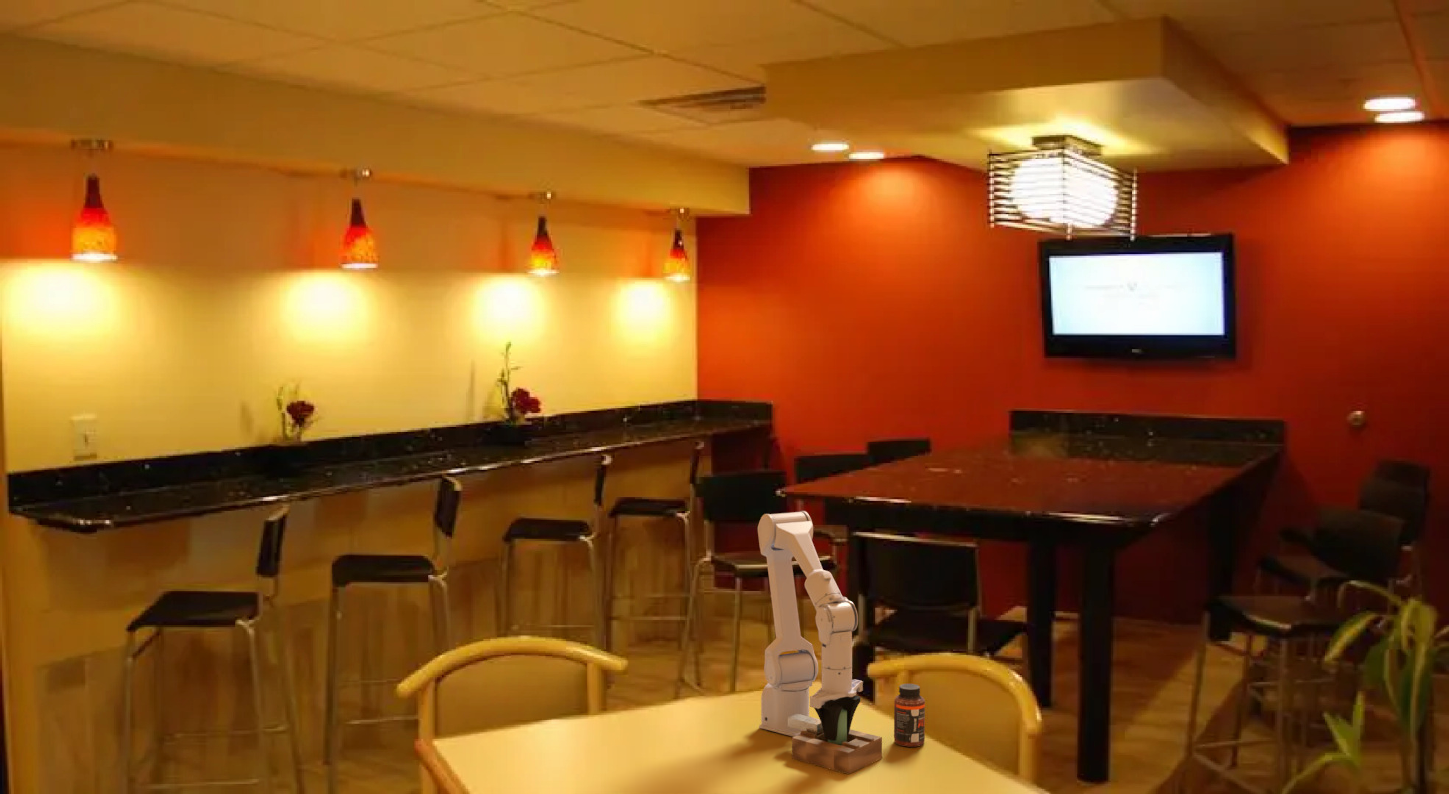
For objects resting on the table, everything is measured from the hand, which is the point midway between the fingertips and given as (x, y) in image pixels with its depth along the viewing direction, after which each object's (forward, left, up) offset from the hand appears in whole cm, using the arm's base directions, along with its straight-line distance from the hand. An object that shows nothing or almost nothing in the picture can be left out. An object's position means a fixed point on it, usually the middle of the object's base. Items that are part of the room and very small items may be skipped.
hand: (836, 736), depth 237 cm
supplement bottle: (+6, +16, -4) cm, 18 cm away
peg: (0, 0, -2) cm, 2 cm away
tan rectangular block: (-7, 0, 0) cm, 7 cm away
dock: (0, 0, -4) cm, 4 cm away
